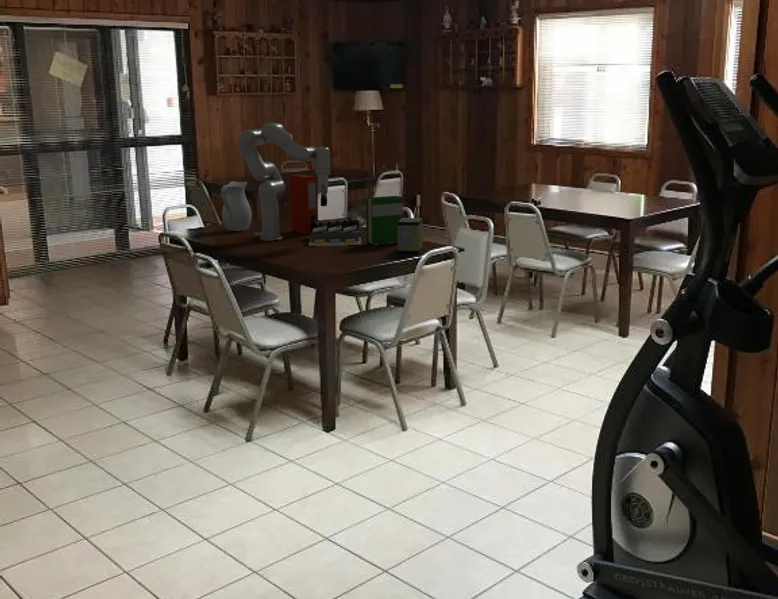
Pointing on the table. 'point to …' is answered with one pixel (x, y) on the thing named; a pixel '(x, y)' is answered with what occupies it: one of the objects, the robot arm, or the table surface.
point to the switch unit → (335, 238)
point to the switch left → (319, 229)
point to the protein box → (410, 235)
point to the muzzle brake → (337, 223)
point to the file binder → (303, 202)
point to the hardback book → (383, 219)
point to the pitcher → (235, 207)
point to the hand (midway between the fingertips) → (324, 204)
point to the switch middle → (334, 228)
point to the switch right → (350, 228)
